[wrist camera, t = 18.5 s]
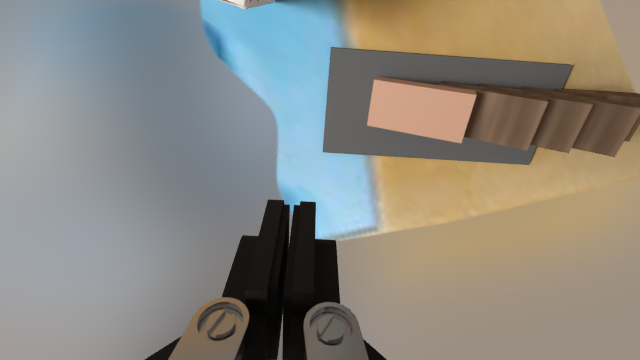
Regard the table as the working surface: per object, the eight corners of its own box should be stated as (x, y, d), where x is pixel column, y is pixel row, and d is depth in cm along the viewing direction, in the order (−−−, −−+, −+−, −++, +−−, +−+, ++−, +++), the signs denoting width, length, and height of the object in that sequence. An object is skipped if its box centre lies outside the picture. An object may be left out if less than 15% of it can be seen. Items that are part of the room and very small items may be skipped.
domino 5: (547, 137, 36) (628, 141, 37) (567, 93, 33) (654, 98, 34) (536, 130, 38) (614, 134, 38) (554, 88, 35) (637, 93, 36)
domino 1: (377, 76, 35) (475, 90, 32) (370, 120, 37) (460, 137, 34) (373, 79, 33) (476, 95, 30) (366, 125, 35) (461, 143, 33)
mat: (331, 47, 33) (331, 47, 33) (570, 64, 34) (572, 65, 34) (322, 150, 39) (322, 152, 39) (526, 163, 40) (528, 164, 40)
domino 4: (506, 134, 36) (614, 156, 32) (524, 89, 33) (642, 109, 30) (506, 129, 37) (609, 150, 34) (522, 86, 35) (635, 104, 31)
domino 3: (464, 131, 36) (568, 153, 32) (479, 86, 33) (593, 104, 30) (466, 126, 37) (565, 146, 34) (480, 83, 35) (588, 100, 31)
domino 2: (427, 128, 36) (527, 150, 32) (438, 83, 33) (548, 101, 30) (430, 124, 37) (526, 144, 34) (441, 80, 35) (546, 97, 31)
